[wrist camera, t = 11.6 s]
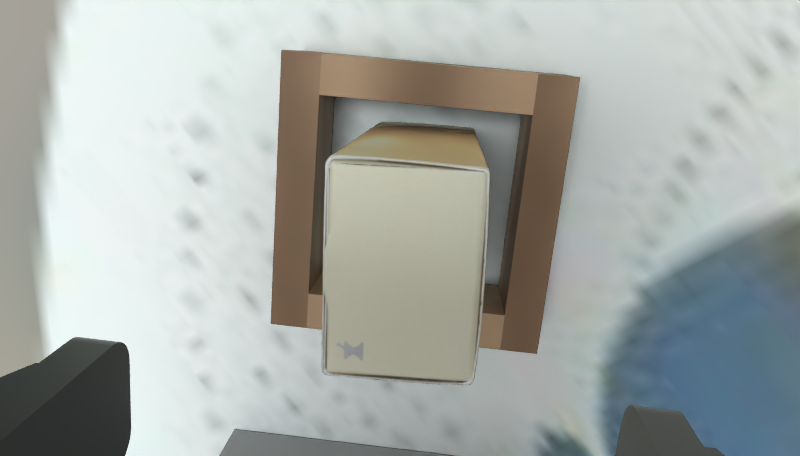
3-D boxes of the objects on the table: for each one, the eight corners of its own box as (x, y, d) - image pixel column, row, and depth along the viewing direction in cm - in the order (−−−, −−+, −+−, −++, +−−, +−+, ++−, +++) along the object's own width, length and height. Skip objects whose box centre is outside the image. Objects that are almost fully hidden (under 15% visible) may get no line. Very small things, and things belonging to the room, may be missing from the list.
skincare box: (465, 262, 29) (476, 400, 18) (370, 256, 30) (318, 387, 18) (477, 118, 28) (496, 165, 16) (375, 113, 28) (322, 155, 16)
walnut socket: (563, 74, 27) (580, 77, 24) (526, 320, 30) (536, 353, 27) (302, 50, 28) (281, 50, 24) (290, 294, 30) (270, 323, 27)
